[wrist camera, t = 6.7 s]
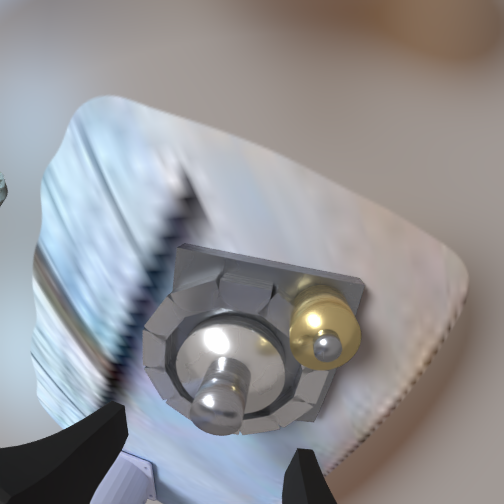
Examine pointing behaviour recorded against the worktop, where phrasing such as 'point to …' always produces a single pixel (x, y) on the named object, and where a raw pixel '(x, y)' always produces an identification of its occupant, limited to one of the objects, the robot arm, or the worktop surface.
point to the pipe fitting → (2, 189)
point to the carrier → (266, 313)
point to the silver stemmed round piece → (230, 371)
